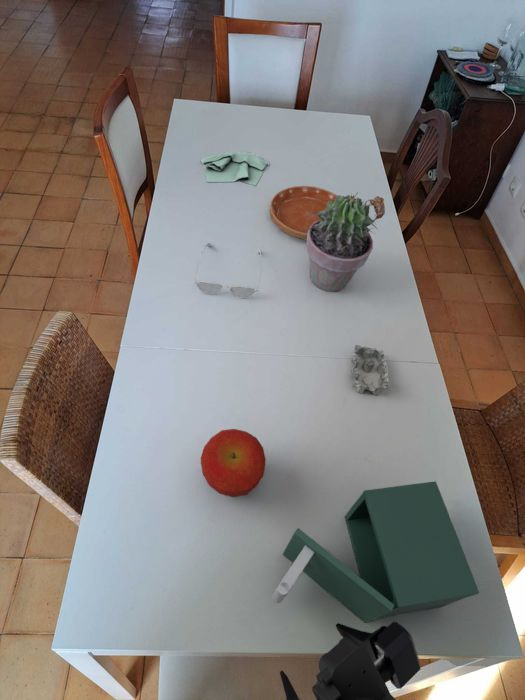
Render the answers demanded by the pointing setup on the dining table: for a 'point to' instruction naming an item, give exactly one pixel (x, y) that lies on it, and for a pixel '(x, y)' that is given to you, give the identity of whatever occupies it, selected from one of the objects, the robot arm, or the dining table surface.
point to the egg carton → (369, 370)
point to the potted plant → (340, 241)
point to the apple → (233, 462)
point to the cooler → (409, 548)
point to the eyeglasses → (215, 288)
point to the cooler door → (330, 578)
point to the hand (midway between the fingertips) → (310, 649)
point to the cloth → (234, 167)
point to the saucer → (299, 208)
